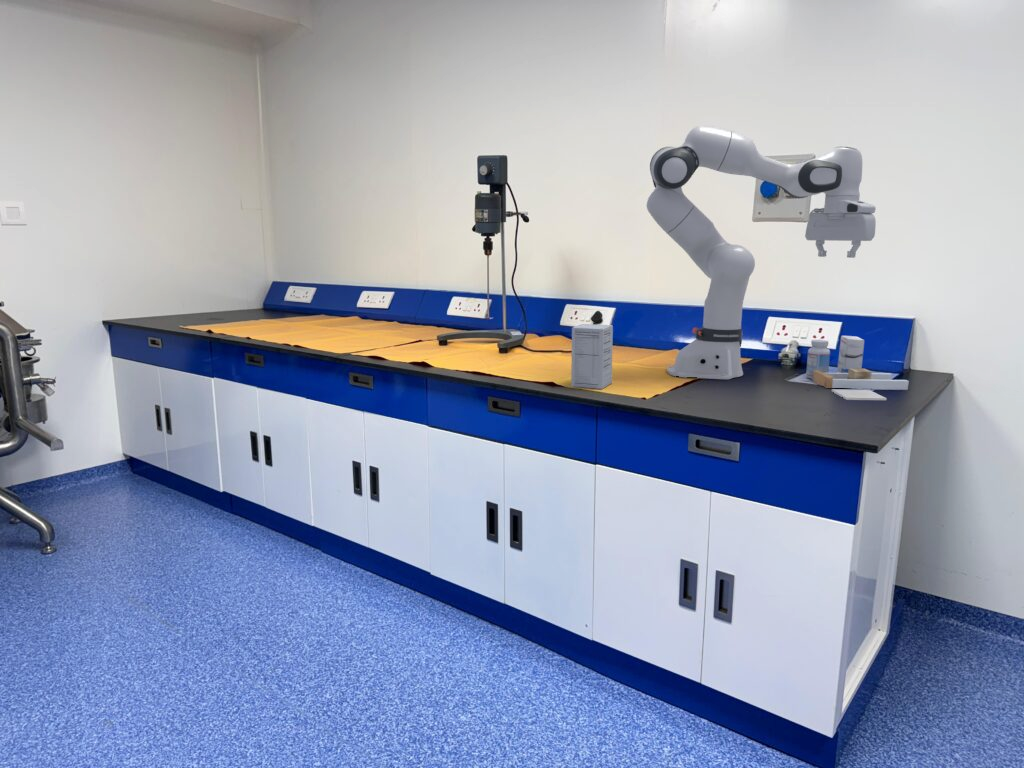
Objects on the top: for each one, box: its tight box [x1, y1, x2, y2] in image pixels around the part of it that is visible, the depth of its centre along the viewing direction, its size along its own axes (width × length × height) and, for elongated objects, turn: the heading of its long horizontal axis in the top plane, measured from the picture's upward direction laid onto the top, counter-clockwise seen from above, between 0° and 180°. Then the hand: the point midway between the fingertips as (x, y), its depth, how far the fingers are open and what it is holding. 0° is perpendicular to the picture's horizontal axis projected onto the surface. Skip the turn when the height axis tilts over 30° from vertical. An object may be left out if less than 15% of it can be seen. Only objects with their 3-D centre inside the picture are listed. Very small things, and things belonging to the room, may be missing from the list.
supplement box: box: [570, 323, 614, 390], centre depth 196 cm, size 10×9×17 cm
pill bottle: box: [805, 339, 831, 379], centre depth 208 cm, size 6×6×11 cm
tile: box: [831, 389, 887, 401], centre depth 186 cm, size 10×10×1 cm
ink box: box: [836, 335, 865, 373], centre depth 211 cm, size 8×5×12 cm, turn 168°
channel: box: [811, 370, 910, 391], centre depth 199 cm, size 22×11×3 cm, turn 87°
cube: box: [848, 368, 873, 379], centre depth 199 cm, size 4×4×4 cm
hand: (836, 257), depth 200 cm, fingers open, 8 cm apart
